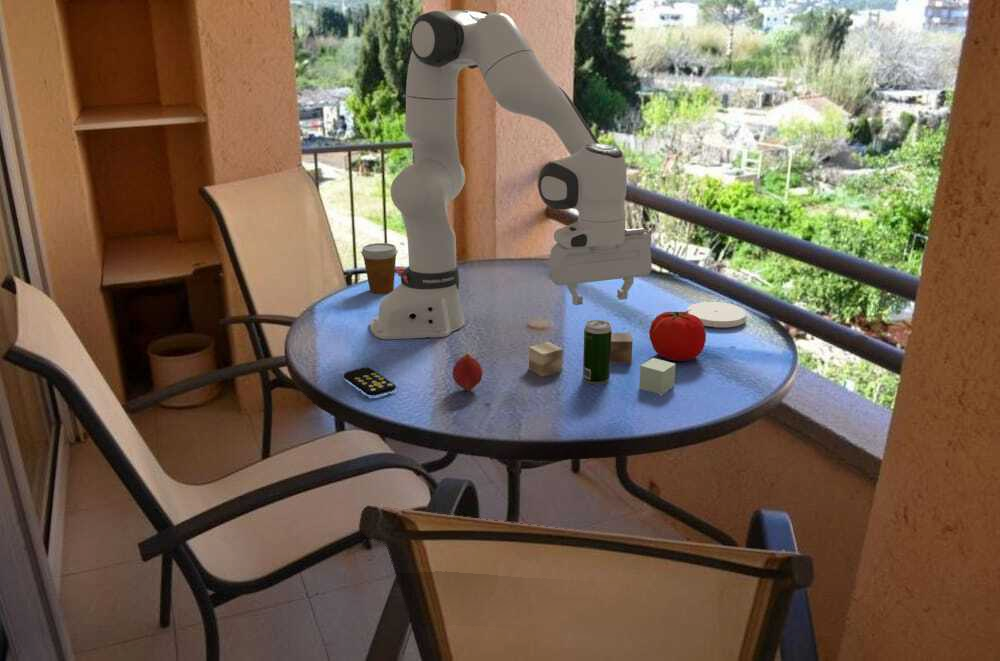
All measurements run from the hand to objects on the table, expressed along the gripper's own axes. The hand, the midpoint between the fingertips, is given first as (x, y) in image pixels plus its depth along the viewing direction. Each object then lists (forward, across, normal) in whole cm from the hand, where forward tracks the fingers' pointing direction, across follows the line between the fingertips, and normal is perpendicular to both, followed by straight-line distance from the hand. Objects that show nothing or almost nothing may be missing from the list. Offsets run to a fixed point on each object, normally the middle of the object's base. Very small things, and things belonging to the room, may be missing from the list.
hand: (599, 301), depth 164 cm
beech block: (+17, +8, -8) cm, 20 cm away
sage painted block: (+17, -10, +7) cm, 21 cm away
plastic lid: (+18, -41, -24) cm, 50 cm away
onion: (+17, +26, -3) cm, 31 cm away
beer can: (+17, 0, 0) cm, 17 cm away
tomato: (+17, -21, -6) cm, 28 cm away
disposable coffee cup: (+16, +32, -72) cm, 81 cm away
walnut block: (+17, -9, -9) cm, 21 cm away
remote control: (+17, +44, -12) cm, 49 cm away
